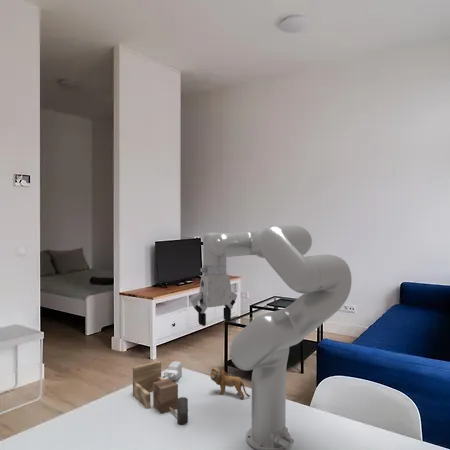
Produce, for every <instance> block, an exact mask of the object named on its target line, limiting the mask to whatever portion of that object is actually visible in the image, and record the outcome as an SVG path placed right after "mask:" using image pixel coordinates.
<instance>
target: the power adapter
mask: <svg viewBox="0 0 450 450" xmlns="http://www.w3.org/2000/svg"><path fill="white" fill-rule="evenodd" d="M167 367H168V368H167V370H166V371H164V373H163V376H162V378H164V379H166V378H167V379H169V378H170V379H171V380H172V381H174V382H175V381H178V380H179V379H180V378H181V377H182V374H183V362H182V361H178V360H174V361H172V362H171V363H169V365H168V366H167Z"/></svg>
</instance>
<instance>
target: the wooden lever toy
mask: <svg viewBox="0 0 450 450" xmlns="http://www.w3.org/2000/svg"><path fill="white" fill-rule="evenodd" d="M164 379H165V380H161V381H158V382H154V383H153V391H152V397H153V398H152V399H153V401H152V402H153V403H152V404H153V405H152V407H153V408H154V409H155V410H156V411H158V412H159V414H165V413H168V412H172V413H173V414H174V415H175V416H176V419H177V422H176V423H177V424H178V426H179V425H180V426H184V425H187V424H188V422H189V418H188V417H189V399H188V397H183V396H182V397H179V384H178V383H176V382H175V381H174V380H171V379H170V378H169V379H168V378H167V379H166V378H164Z"/></svg>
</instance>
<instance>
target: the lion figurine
mask: <svg viewBox="0 0 450 450" xmlns="http://www.w3.org/2000/svg"><path fill="white" fill-rule="evenodd" d="M210 379H211V381H213V382H215V384H216V385H217V386H220V387H219V388H220V392H219V395H220V396H223V395H224V394H225V392H226V387H228V388H233V387H234V388H235V390H236V392H237V393H236V395H238V396H239V395H241V396H240V397H239V398H240V399H239V400H244V398H245V395H246V396H247V397H249V398H250V397H251V395H250V394H248V393H247V391H246V387H245V384H244V381H243V379H241V377H240V376H231V375H228V373H227V372H226V371H225V370H223V369H221V368H220V367H212V368H210ZM244 394H245V395H244Z"/></svg>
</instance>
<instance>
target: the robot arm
mask: <svg viewBox="0 0 450 450" xmlns="http://www.w3.org/2000/svg"><path fill="white" fill-rule="evenodd" d="M312 245H313V241H312V235H311V234H310V232H309V231H308V230H307V229H306V228H305V227H302V226H299V225H294V224H293V225H273V226H269V227H261V228H258V229H256V230H255V231H236V232H235V231H234V232H217V231H216V232H205V234H204V235H203V239H202V248H203V249H202V250H203V251H202V252H203V253H202V255H203V257H202V258H203V259H202V261H203V262H202V267H200V272H201V273H202V275H201V277H200V282H199V293H198V295H196V296H195V297H193V298H192V299H191V301H190V302H191V305H192V306H193V309H194V310H195V311H196V312H197V313H198V315H197V317H198V320H197V321H198V324H199V325H200V326H202V327H206V326H207V314H206V310H207V309H208V308H216V307H217V308H218V307H222V306H224V307H223V321H226V322H231V320H232V319H231V318H232V309H233V307H234V304H236V300H237V298H238V294H237V293H235V292H233V291H232V287H231V280H230V275H229V274H228V273H227V258H231V257H244V256H257V257H259V258H261V259H265V261H266V262H267V263H268V264H269V266H270V267H271V268H272V269H273V271H275V273H276V274H277V275H278V276H279V277H280V279H281V280H282V281H283V282H284V284H286V286H287V287H289V288H290V289H291V290H292V291H294V292H296V293H299V294H302V295H300V296H298V297H297V299H296V300H294V301H293V302H292V303H291V304H290V305H288V306H287V307H285V308H282V309H278V310H274V311H270V312H267V313H262V314H260V315H258V316H256V317H255V318H253V319H252V320H251V321H250V322H249V323H248V324H246V326H244V328H243V329H242V330H240V331H239V332H238V333H237V334H236V335H235V336H234V338H233V339H232V341H231V343H230V347H229V356H230V360H231V361H232V363H233V365H234V366H235V367H236V368H238V369H240V370H242V371H252V373H251V427H250V428H249V429H248V430H247V431H246V434H245V440H246V443H247V444H248V445H249V446H250V447H252V448H253V449H255V450H290V449H291V447H292V444H294V442H295V439H294V438H292V436H291V433H290V432H289V428H288V427H287V426H286V425H287V424H286V421H287V420H286V411H287V410H286V405H287V404H286V403H287V402H286V398H287V397H286V392H287V391H286V387H287V383H286V382H287V379H286V378H287V365H288V359H289V354H290V347H293V346H296V345H298V344H299V343H301V342H302V341H303V340H304V339H305V338H306V337H308V336H309V335H311V334H312V333H314V331H315V330H317V329H318V328H320V326H321V325H323V324H324V323H326V321H328V320H329V319H330V318H331V317H333V316H334V315H335V314H336V313H337V312H338V311H339V310H340V309H341V308H342V307H343V306H344V305H345V303H346V302H347V300H348V297H349V295H350V293H351V289H352V280H353V279H352V278H353V277H352V272H351V269H350V266H349V265H348V263H347V262H346V261H345V260H344V259H343V258H342V257H340V256H337V255H334V254H317V255H308V256H307V255H306V254H308V252H309V250H310V249H311V247H312ZM304 255H306V256H304ZM198 303H199V304H198Z"/></svg>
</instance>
